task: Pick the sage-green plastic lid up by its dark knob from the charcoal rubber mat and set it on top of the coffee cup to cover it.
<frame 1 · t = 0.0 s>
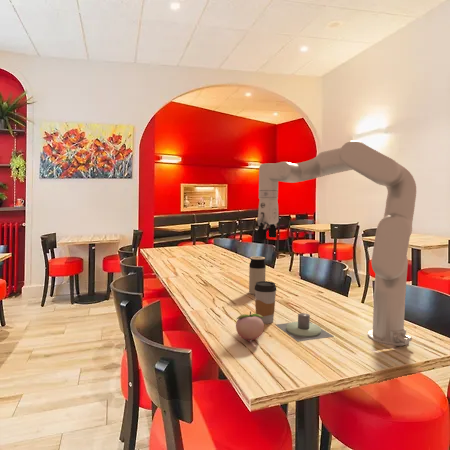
hand: (267, 238, 140), 31 cm above the table, tool pointing down, fingers open, 9 cm apart
lid: (303, 330, 125), point 1 cm above the table, touching mat
coffee cup: (264, 322, 134), on the table
decorative fruit: (250, 342, 116), on the table
mat: (303, 331, 125), on the table
travel mug: (257, 293, 175), on the table
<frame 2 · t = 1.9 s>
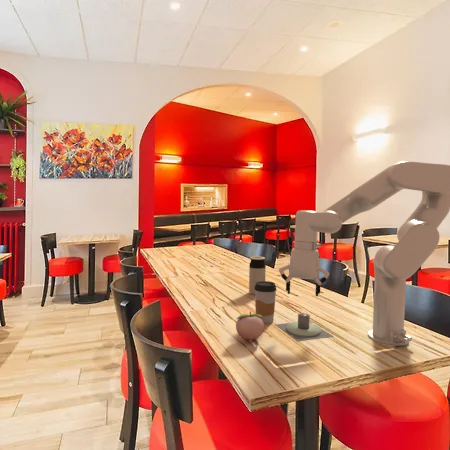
hand: (302, 294, 124), 14 cm above the table, tool pointing down, fingers open, 9 cm apart
nothing on the table moved.
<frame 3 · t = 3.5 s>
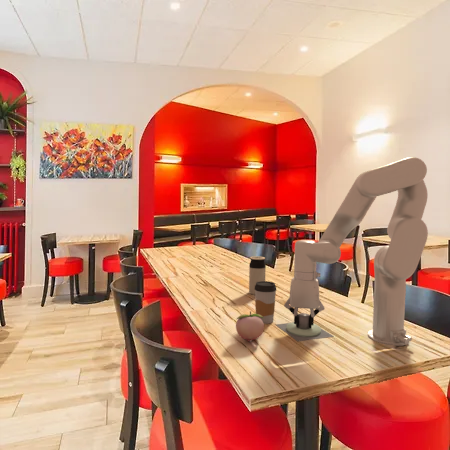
hand: (303, 326, 124), 2 cm above the table, tool pointing down, fingers closed on lid, 4 cm apart
lid: (303, 330, 125), point 1 cm above the table, touching gripper, mat
everything else where it was.
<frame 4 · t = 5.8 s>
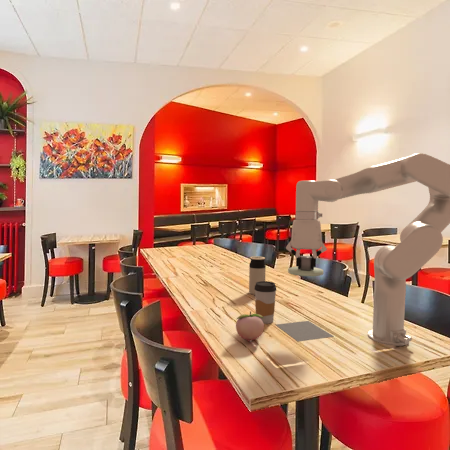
hand: (305, 268, 123), 23 cm above the table, tool pointing down, fingers closed on lid, 4 cm apart
lid: (305, 272, 123), point 21 cm above the table, touching gripper
everything else where it was.
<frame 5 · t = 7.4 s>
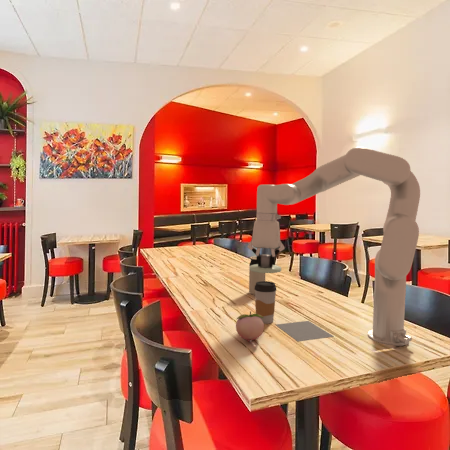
hand: (265, 265, 132), 22 cm above the table, tool pointing down, fingers closed on lid, 4 cm apart
lid: (265, 269, 133), point 20 cm above the table, touching gripper
everything else where it was.
when the fingers open (18 cm above the table, at t = 8.3 s): lid drops 1 cm, resting on coffee cup.
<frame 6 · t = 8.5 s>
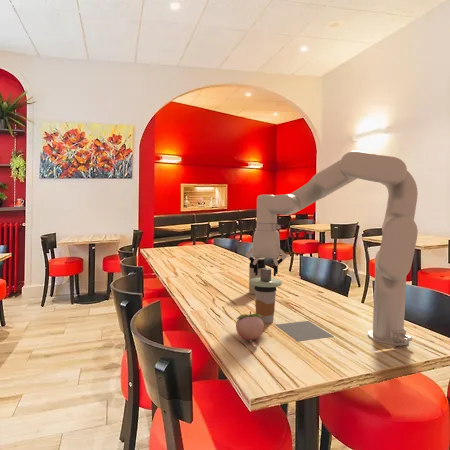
hand: (265, 274, 133), 18 cm above the table, tool pointing down, fingers open, 6 cm apart
lid: (265, 283, 133), point 15 cm above the table, touching coffee cup
coffee cup: (264, 322, 134), on the table, touching lid
everything else where it was.
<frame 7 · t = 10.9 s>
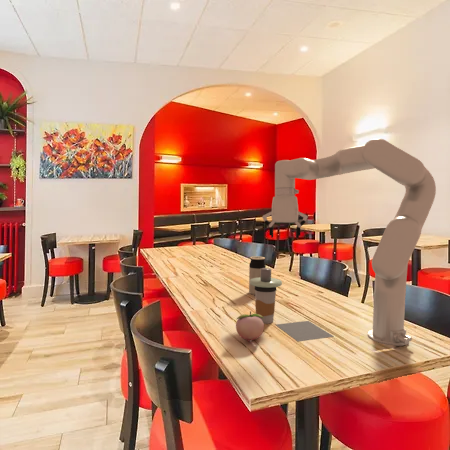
hand: (284, 237, 136), 32 cm above the table, tool pointing down, fingers open, 9 cm apart
nothing on the table moved.
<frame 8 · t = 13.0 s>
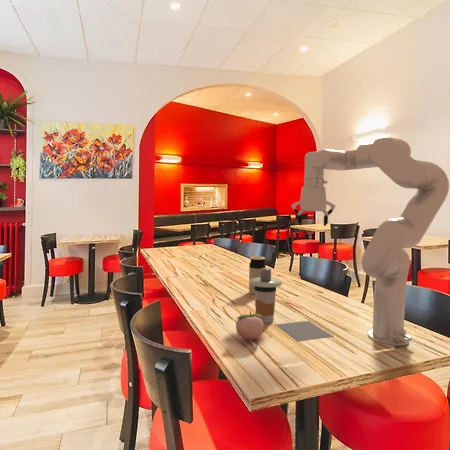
hand: (312, 225, 143), 36 cm above the table, tool pointing down, fingers open, 9 cm apart
nothing on the table moved.
at the end: lid 0.0 cm from the coffee cup (horizontally); lid point 15.0 cm above the table; coffee cup tilted 0° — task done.
